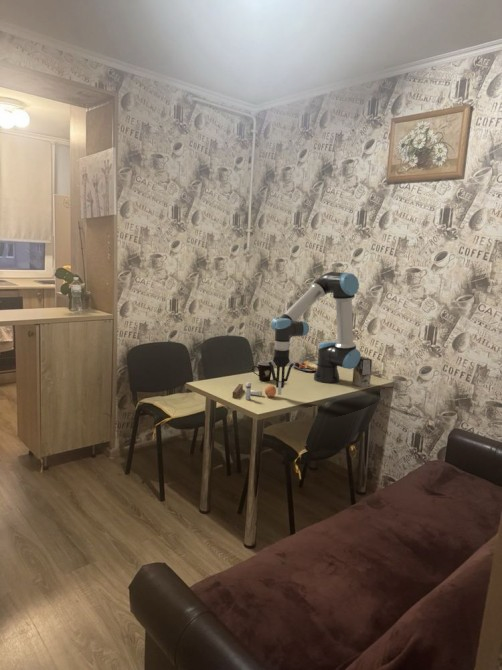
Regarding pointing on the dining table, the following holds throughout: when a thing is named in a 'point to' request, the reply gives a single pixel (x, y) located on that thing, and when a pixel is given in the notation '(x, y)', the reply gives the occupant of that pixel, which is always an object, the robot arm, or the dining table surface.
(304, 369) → the food plate
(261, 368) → the coffee mug
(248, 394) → the side pin
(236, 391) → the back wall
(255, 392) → the pin
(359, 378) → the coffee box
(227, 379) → the dining table surface
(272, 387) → the ball
